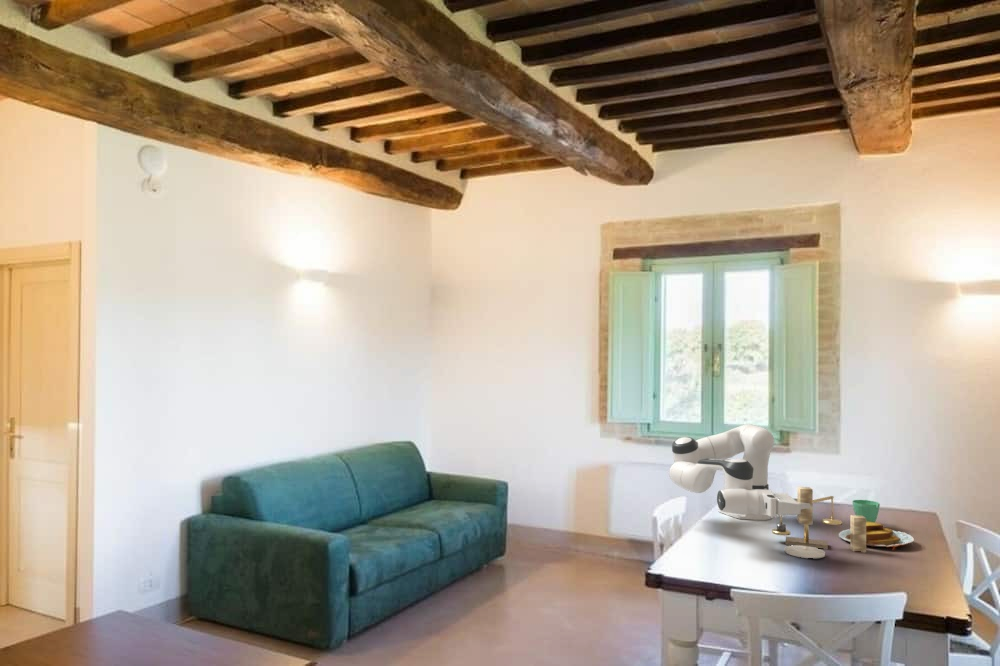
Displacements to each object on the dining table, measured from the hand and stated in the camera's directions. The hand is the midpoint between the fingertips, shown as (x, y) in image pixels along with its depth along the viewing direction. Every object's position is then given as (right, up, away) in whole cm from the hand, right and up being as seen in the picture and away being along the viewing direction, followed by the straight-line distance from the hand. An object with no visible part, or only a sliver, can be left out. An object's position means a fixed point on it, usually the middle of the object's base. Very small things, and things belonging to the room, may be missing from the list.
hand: (807, 504), depth 248 cm
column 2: (+21, -18, +7) cm, 28 cm away
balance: (+5, -18, +13) cm, 23 cm away
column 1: (-1, -6, 0) cm, 7 cm away
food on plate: (+34, -19, +19) cm, 43 cm away
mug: (+43, -20, +44) cm, 64 cm away
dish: (-1, -18, 0) cm, 18 cm away
